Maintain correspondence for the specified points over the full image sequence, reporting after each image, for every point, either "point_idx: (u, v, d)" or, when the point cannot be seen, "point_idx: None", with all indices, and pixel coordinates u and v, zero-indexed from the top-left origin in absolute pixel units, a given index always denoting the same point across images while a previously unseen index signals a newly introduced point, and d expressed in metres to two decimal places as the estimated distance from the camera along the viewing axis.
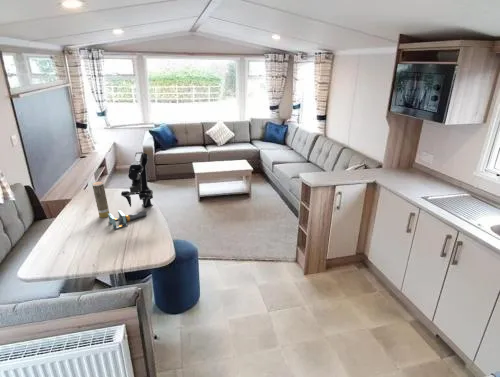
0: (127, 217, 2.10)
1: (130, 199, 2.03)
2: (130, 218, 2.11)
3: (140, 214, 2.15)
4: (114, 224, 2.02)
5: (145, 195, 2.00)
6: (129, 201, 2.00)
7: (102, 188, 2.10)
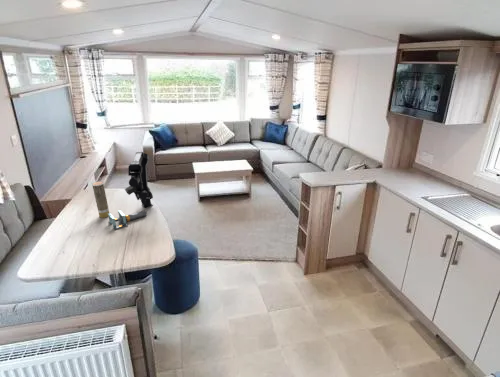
0: (127, 217, 2.10)
1: None
2: (130, 218, 2.11)
3: (140, 214, 2.15)
4: (114, 224, 2.02)
5: (138, 197, 2.06)
6: (135, 195, 2.16)
7: (102, 188, 2.10)
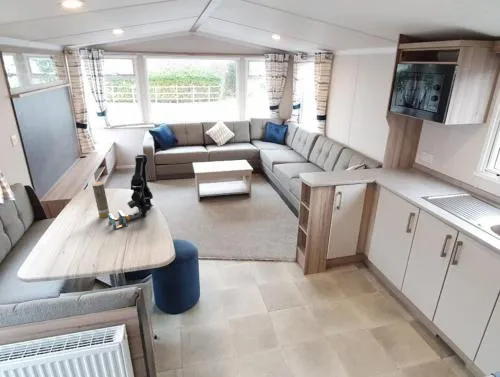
0: (127, 217, 2.10)
1: None
2: (130, 218, 2.11)
3: (140, 214, 2.15)
4: (114, 224, 2.02)
5: (139, 210, 2.12)
6: (139, 210, 2.18)
7: (102, 188, 2.10)
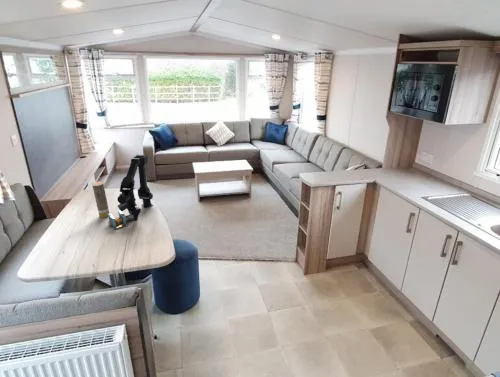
0: (118, 219, 2.07)
1: None
2: (121, 220, 2.08)
3: (131, 216, 2.12)
4: (114, 224, 2.02)
5: None
6: None
7: (102, 188, 2.10)
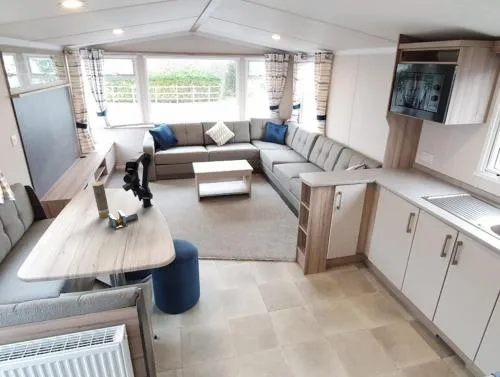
0: (118, 221, 2.06)
1: None
2: (121, 222, 2.07)
3: (132, 218, 2.11)
4: (114, 224, 2.02)
5: (136, 194, 2.09)
6: (133, 192, 2.19)
7: (102, 188, 2.10)
